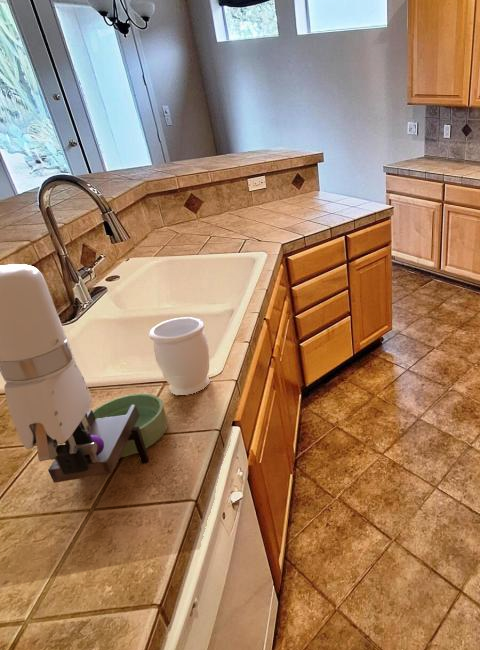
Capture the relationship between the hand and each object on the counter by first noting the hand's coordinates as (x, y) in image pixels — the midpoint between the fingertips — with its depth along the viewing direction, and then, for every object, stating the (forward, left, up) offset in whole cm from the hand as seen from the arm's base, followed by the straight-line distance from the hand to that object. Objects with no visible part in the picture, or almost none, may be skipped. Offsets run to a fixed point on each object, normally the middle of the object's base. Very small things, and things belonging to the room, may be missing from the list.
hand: (80, 463), depth 64 cm
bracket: (0, +9, -9) cm, 13 cm away
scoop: (0, +7, -3) cm, 7 cm away
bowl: (0, +17, -9) cm, 19 cm away
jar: (+8, +32, -9) cm, 34 cm away
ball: (0, +4, +1) cm, 4 cm away
